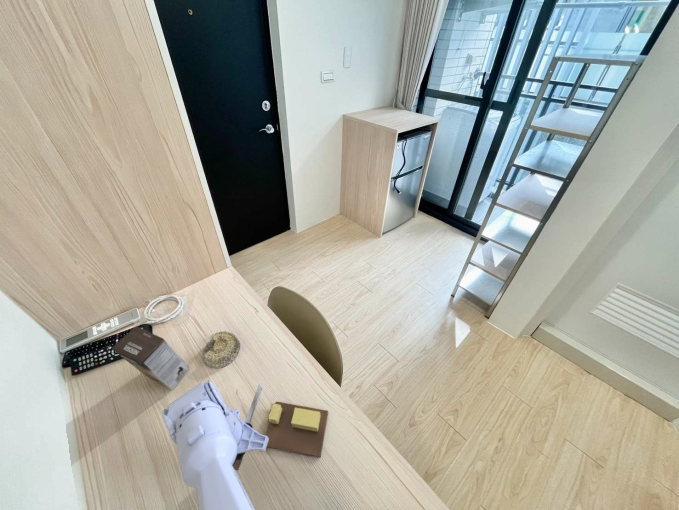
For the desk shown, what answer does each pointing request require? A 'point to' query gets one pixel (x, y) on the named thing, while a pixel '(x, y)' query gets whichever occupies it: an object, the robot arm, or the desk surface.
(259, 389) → the knife
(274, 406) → the butter pat
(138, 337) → the coffee box
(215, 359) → the ammonite fossil
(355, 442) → the desk surface
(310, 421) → the butter
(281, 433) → the butter board
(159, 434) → the desk surface
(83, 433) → the desk surface
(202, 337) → the desk surface
